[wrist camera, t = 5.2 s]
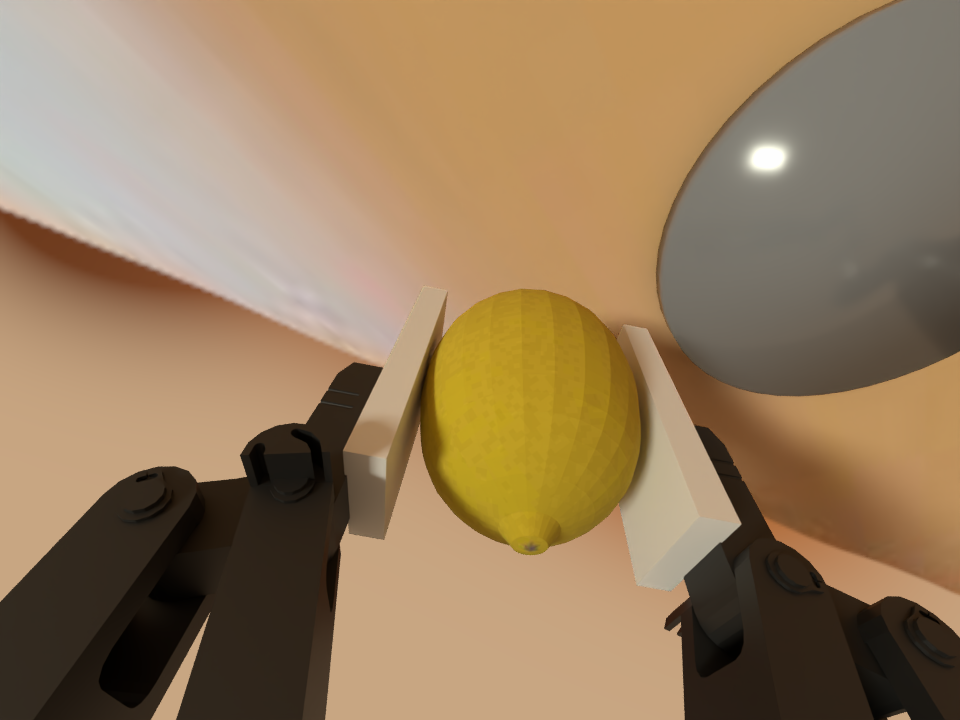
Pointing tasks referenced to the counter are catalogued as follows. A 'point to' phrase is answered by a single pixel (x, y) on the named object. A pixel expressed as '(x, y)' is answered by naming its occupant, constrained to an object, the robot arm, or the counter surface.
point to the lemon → (530, 419)
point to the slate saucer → (827, 215)
